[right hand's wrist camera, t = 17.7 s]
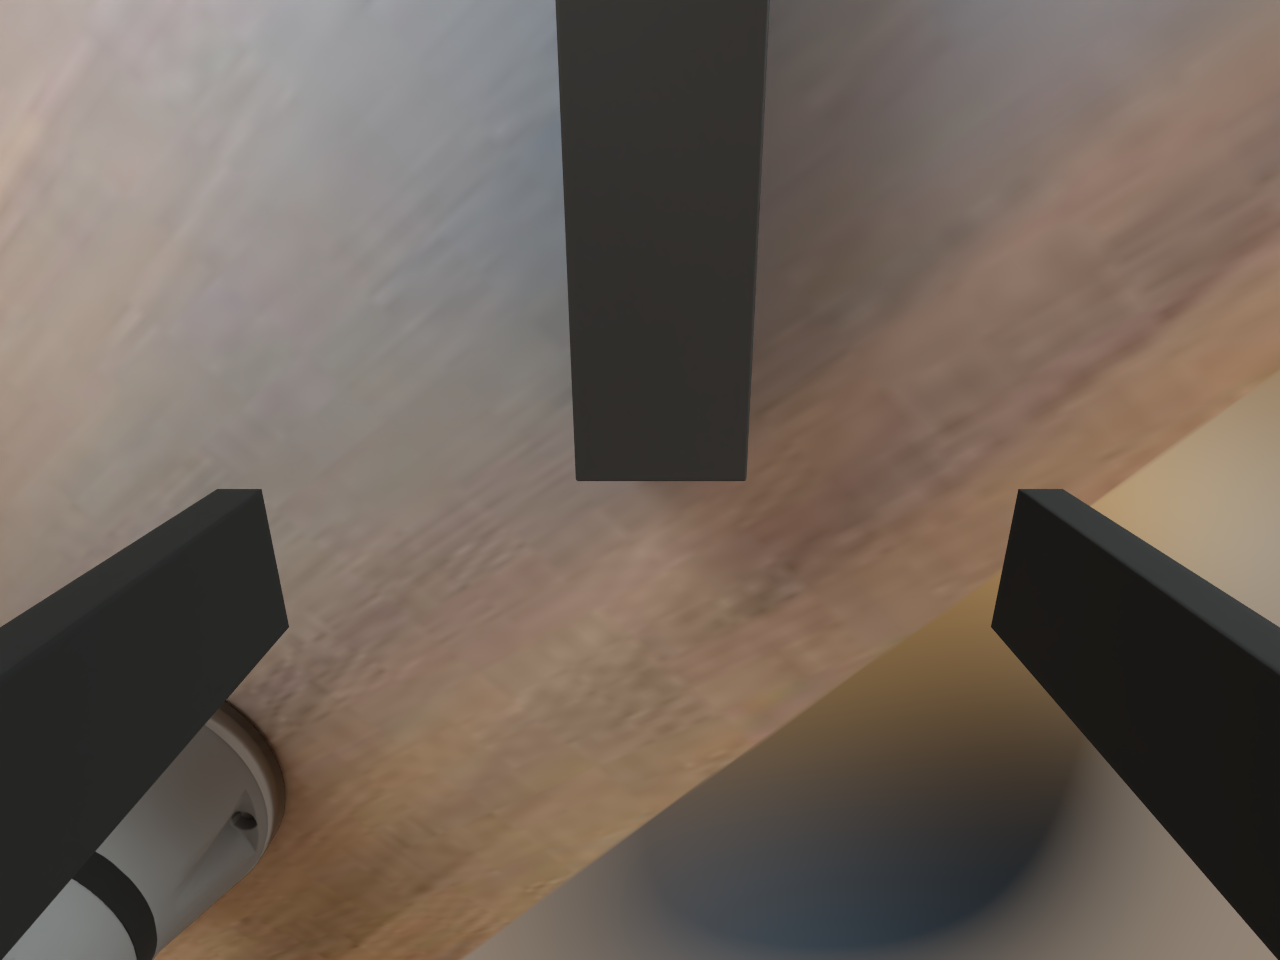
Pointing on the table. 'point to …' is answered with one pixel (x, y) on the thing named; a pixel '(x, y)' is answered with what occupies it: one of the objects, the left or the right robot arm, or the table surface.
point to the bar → (661, 231)
